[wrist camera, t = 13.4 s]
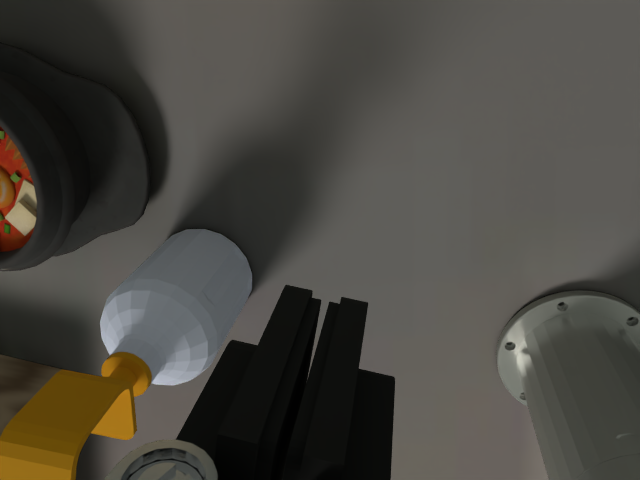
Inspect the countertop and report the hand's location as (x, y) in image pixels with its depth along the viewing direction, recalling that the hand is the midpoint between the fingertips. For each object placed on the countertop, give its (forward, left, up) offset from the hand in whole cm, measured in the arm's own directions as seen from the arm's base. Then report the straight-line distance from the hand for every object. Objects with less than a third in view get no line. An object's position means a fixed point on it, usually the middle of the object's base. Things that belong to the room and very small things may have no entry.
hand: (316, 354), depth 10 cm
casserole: (+30, +10, -31) cm, 45 cm away
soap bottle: (+13, +18, -31) cm, 38 cm away
